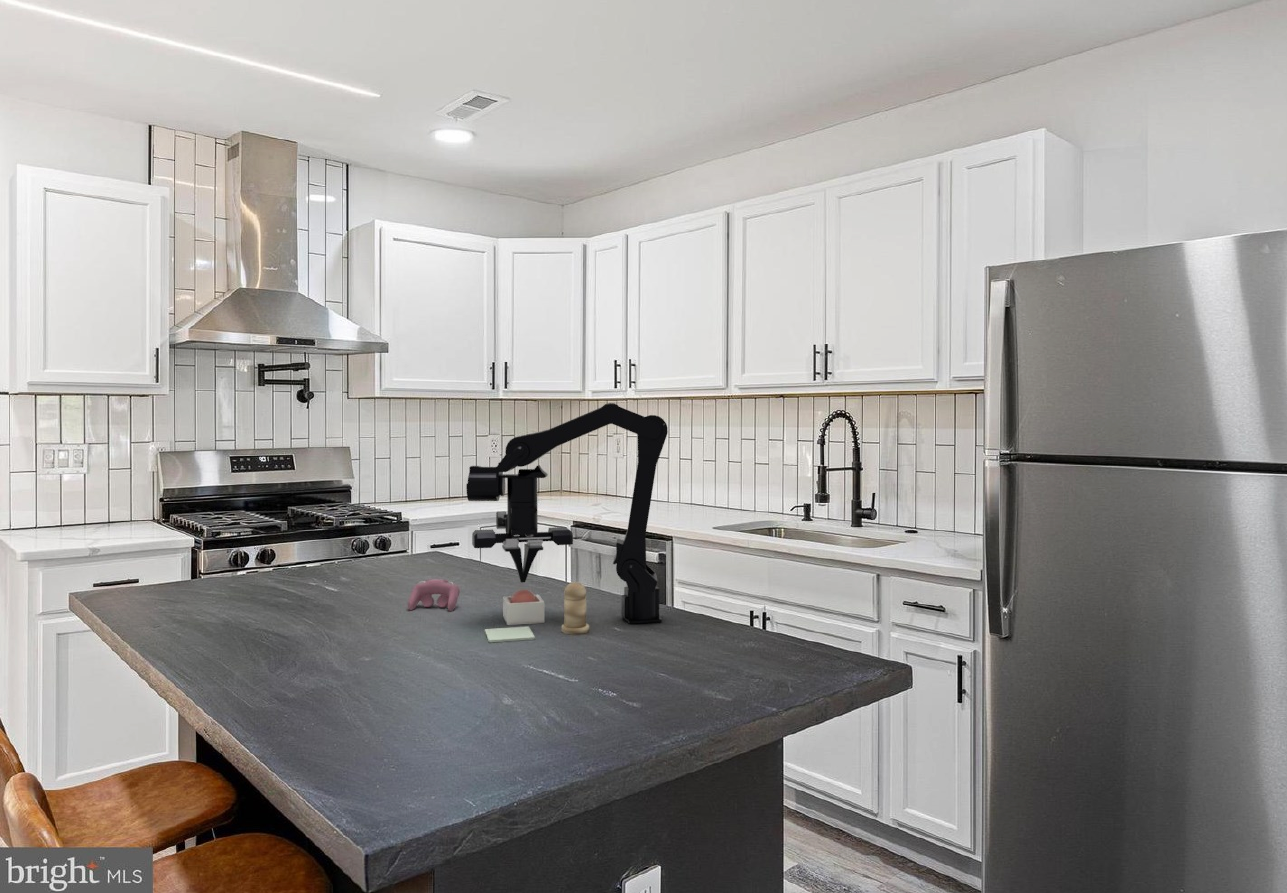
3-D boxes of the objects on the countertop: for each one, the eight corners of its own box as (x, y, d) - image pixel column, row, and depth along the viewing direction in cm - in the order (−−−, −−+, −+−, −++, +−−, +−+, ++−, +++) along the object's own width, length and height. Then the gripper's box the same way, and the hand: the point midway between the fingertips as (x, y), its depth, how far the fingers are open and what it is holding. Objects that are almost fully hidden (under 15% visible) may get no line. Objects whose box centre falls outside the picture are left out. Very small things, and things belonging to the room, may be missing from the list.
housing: (538, 614, 168) (538, 594, 168) (544, 623, 161) (544, 602, 161) (503, 617, 166) (503, 596, 166) (507, 625, 159) (507, 604, 159)
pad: (528, 628, 157) (528, 626, 157) (535, 639, 149) (535, 637, 149) (484, 631, 155) (484, 629, 155) (488, 642, 147) (488, 640, 147)
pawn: (585, 627, 158) (585, 579, 158) (591, 633, 154) (591, 584, 153) (559, 628, 157) (559, 580, 157) (564, 635, 152) (564, 585, 152)
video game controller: (458, 615, 174) (463, 582, 177) (452, 610, 170) (457, 576, 173) (412, 614, 175) (417, 581, 178) (404, 609, 171) (410, 575, 174)
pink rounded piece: (534, 613, 167) (534, 586, 167) (538, 619, 162) (538, 591, 162) (508, 615, 165) (508, 587, 165) (512, 621, 161) (511, 592, 161)
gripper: (562, 496, 173) (563, 572, 174) (469, 498, 168) (470, 577, 169) (573, 501, 163) (573, 582, 163) (474, 504, 158) (474, 587, 158)
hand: (522, 582), depth 164 cm, fingers closed
